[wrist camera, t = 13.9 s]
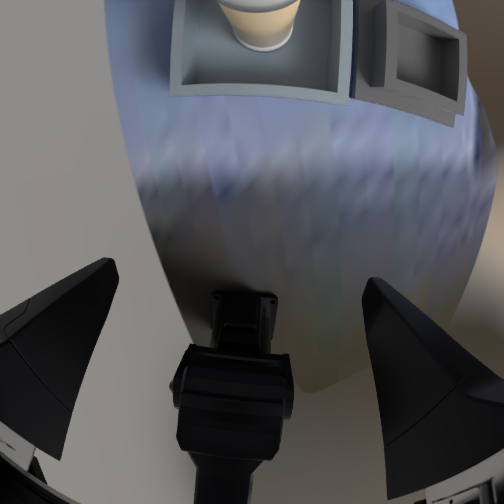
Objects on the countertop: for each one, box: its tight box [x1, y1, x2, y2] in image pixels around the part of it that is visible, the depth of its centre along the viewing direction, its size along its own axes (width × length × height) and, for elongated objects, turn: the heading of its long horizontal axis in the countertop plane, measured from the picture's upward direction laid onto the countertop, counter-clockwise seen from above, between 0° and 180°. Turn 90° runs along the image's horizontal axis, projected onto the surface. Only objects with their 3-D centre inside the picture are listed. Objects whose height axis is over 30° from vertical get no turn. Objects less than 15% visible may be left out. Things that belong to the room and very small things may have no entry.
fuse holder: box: [351, 0, 467, 128], centre depth 12 cm, size 9×9×4 cm
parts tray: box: [170, 0, 353, 106], centre depth 12 cm, size 10×10×4 cm
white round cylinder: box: [216, 0, 300, 53], centre depth 9 cm, size 4×4×11 cm
